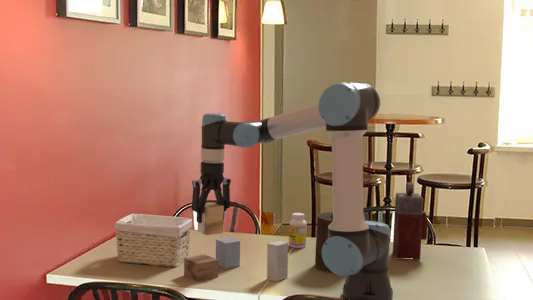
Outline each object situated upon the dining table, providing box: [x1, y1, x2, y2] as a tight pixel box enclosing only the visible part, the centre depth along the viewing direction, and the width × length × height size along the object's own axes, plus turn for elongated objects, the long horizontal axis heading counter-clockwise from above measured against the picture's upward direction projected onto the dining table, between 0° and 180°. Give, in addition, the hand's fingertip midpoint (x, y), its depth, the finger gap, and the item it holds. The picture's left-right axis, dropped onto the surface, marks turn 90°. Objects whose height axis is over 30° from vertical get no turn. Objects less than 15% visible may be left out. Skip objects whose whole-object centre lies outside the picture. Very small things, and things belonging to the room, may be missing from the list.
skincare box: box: [266, 240, 289, 282], centre depth 220 cm, size 6×4×12 cm
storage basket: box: [114, 213, 193, 268], centre depth 237 cm, size 24×16×15 cm
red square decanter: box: [392, 182, 429, 260], centre depth 251 cm, size 9×11×28 cm
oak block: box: [197, 202, 225, 236], centre depth 221 cm, size 6×6×9 cm
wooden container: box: [314, 211, 333, 273], centre depth 235 cm, size 15×15×22 cm
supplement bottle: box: [288, 212, 308, 249], centre depth 262 cm, size 7×7×13 cm
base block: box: [183, 254, 219, 282], centre depth 221 cm, size 8×8×6 cm
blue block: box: [215, 237, 241, 270], centre depth 233 cm, size 6×6×9 cm
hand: (210, 230), depth 221 cm, fingers closed on oak block, 6 cm apart
